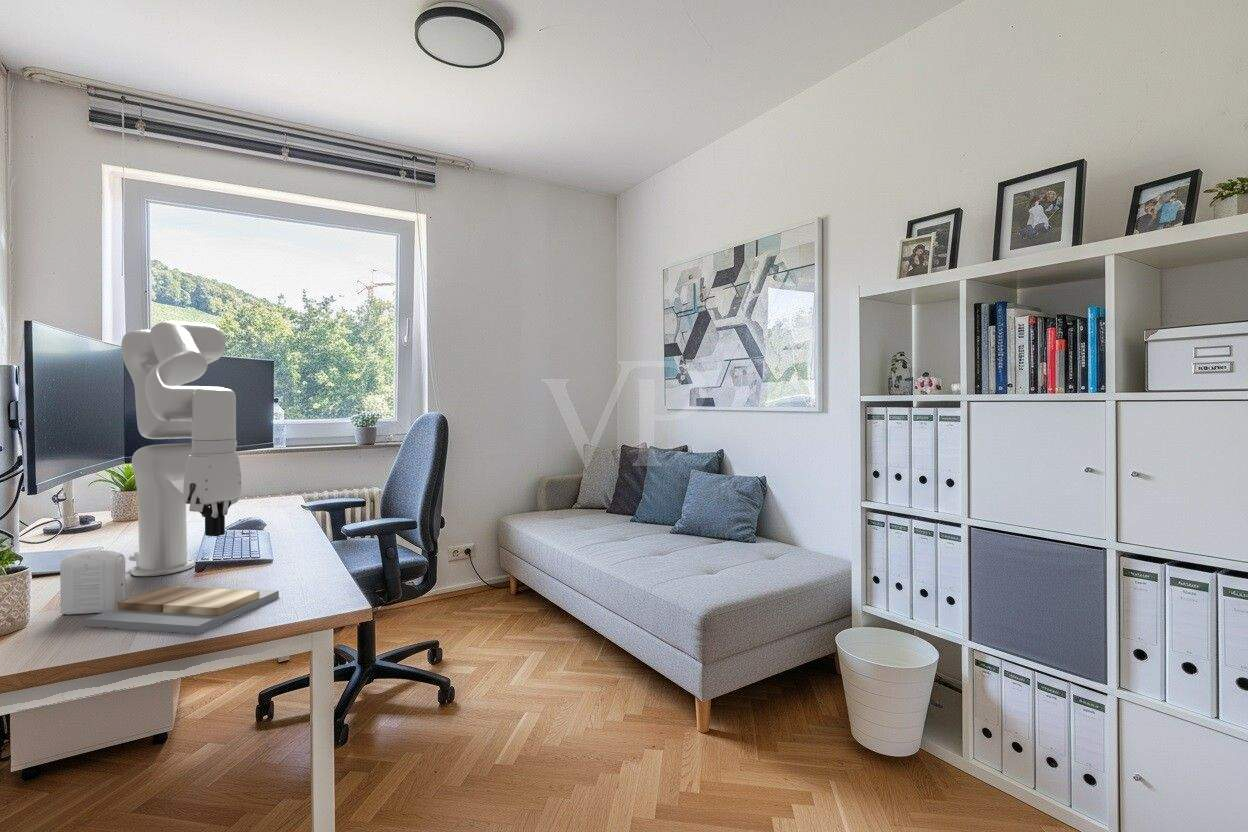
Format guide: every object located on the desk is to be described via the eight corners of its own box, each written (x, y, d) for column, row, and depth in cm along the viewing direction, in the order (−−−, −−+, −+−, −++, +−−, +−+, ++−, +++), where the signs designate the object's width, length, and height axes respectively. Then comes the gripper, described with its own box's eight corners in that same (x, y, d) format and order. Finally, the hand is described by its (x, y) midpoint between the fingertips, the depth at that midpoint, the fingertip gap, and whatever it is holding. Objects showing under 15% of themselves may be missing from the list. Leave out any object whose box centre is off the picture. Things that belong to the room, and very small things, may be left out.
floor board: (86, 626, 109) (86, 618, 109) (182, 591, 129) (182, 585, 129) (197, 634, 106) (197, 626, 106) (278, 597, 125) (278, 590, 125)
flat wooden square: (117, 609, 114) (117, 601, 114) (165, 592, 124) (165, 585, 124) (161, 612, 113) (161, 604, 112) (206, 595, 122) (206, 588, 122)
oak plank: (162, 612, 112) (162, 604, 112) (207, 595, 122) (207, 588, 122) (219, 615, 111) (218, 607, 111) (259, 597, 120) (259, 590, 120)
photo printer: (130, 605, 121) (128, 546, 120) (117, 613, 116) (115, 551, 116) (71, 609, 118) (70, 549, 118) (56, 617, 114) (54, 555, 114)
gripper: (228, 443, 128) (229, 525, 129) (164, 450, 113) (165, 543, 114) (258, 445, 127) (258, 527, 128) (198, 452, 112) (198, 546, 113)
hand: (214, 534), depth 121 cm, fingers closed
